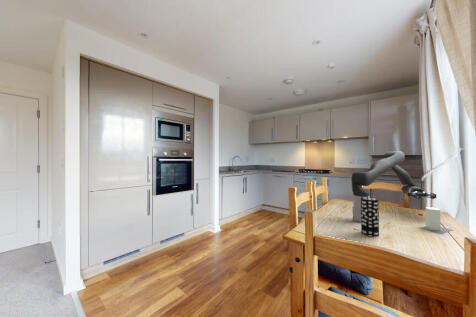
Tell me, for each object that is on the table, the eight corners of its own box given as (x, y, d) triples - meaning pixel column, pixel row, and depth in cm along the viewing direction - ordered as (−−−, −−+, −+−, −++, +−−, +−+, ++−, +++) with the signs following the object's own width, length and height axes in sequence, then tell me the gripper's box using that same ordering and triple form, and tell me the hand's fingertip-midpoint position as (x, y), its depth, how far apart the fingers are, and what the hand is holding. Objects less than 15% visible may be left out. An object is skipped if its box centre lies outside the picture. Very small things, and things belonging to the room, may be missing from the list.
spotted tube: (379, 237, 103) (379, 200, 103) (361, 234, 108) (360, 199, 108) (378, 232, 111) (377, 198, 110) (361, 230, 115) (360, 196, 115)
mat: (441, 235, 106) (441, 234, 106) (418, 228, 115) (418, 228, 115) (454, 230, 111) (454, 230, 111) (431, 225, 120) (431, 224, 120)
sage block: (440, 230, 110) (440, 210, 110) (428, 229, 113) (428, 209, 113) (437, 228, 115) (436, 208, 114) (425, 226, 117) (425, 207, 117)
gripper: (403, 186, 143) (409, 190, 129) (430, 187, 136) (439, 191, 121) (404, 196, 143) (410, 201, 129) (430, 198, 136) (439, 203, 122)
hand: (424, 196), depth 125 cm, fingers open, 8 cm apart
